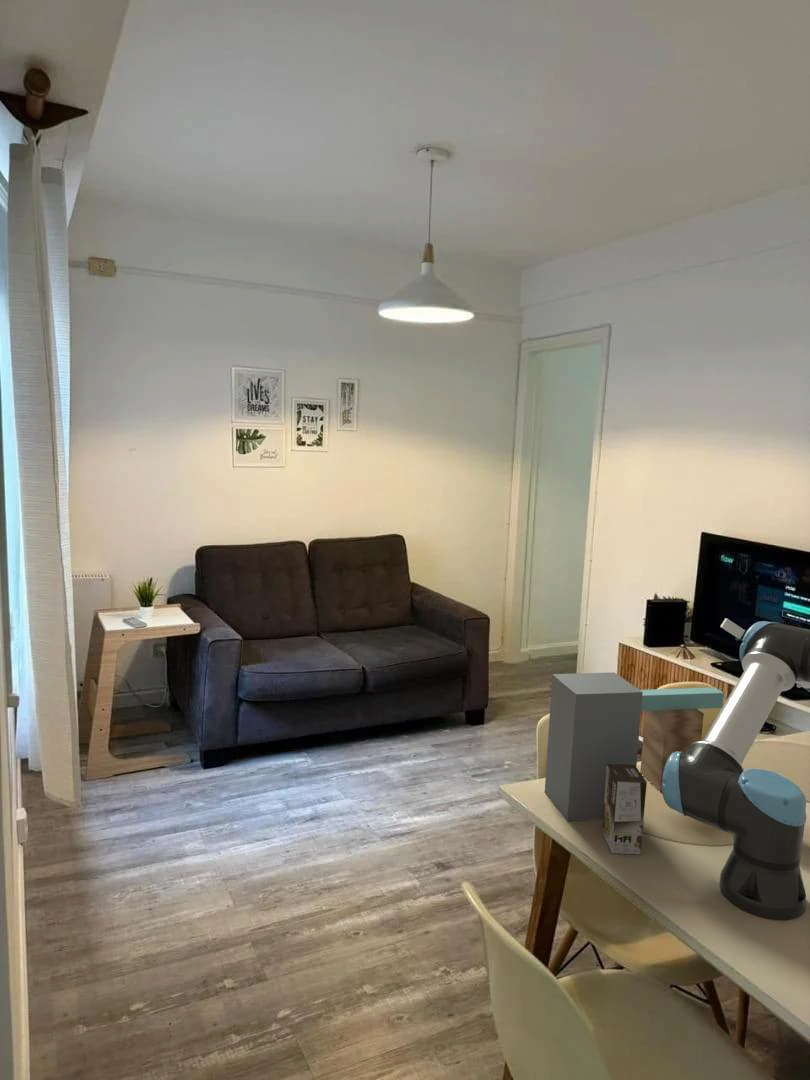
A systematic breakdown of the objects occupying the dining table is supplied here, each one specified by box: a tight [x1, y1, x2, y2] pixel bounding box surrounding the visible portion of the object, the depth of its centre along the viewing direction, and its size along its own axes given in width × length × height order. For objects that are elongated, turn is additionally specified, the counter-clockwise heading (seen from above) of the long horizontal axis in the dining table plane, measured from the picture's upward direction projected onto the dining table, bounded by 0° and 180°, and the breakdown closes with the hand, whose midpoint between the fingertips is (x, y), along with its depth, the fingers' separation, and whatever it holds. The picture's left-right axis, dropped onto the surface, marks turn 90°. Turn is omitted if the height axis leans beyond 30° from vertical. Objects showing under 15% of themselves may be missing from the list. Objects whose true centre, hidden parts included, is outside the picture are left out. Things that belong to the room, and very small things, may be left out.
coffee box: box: [601, 764, 648, 856], centre depth 164 cm, size 9×6×16 cm
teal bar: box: [639, 687, 725, 712], centre depth 192 cm, size 24×4×4 cm, turn 101°
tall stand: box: [544, 672, 643, 822], centre depth 179 cm, size 16×14×30 cm
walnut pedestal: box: [639, 709, 705, 792], centre depth 193 cm, size 10×10×20 cm
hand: (739, 629), depth 193 cm, fingers open, 13 cm apart
